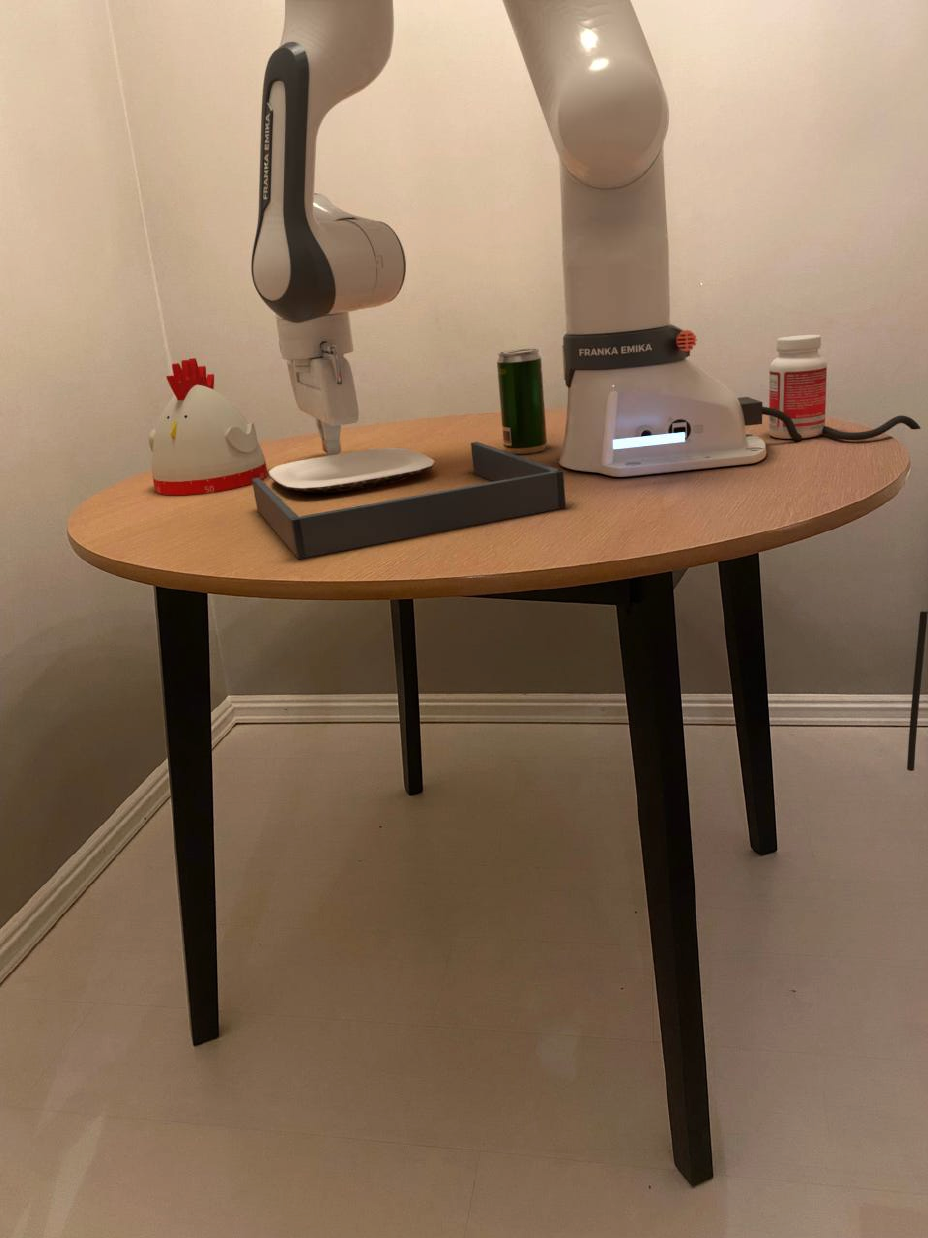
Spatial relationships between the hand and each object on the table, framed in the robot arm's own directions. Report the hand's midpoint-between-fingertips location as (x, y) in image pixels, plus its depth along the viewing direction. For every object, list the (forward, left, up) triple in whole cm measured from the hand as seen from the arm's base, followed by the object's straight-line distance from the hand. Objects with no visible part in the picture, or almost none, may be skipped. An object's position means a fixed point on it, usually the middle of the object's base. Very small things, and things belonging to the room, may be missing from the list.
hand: (332, 453), depth 120 cm
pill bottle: (-57, +1, -2) cm, 57 cm away
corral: (-15, +26, -2) cm, 29 cm away
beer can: (-25, -1, -2) cm, 25 cm away
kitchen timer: (+14, +6, -2) cm, 15 cm away
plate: (-5, +9, -2) cm, 11 cm away
